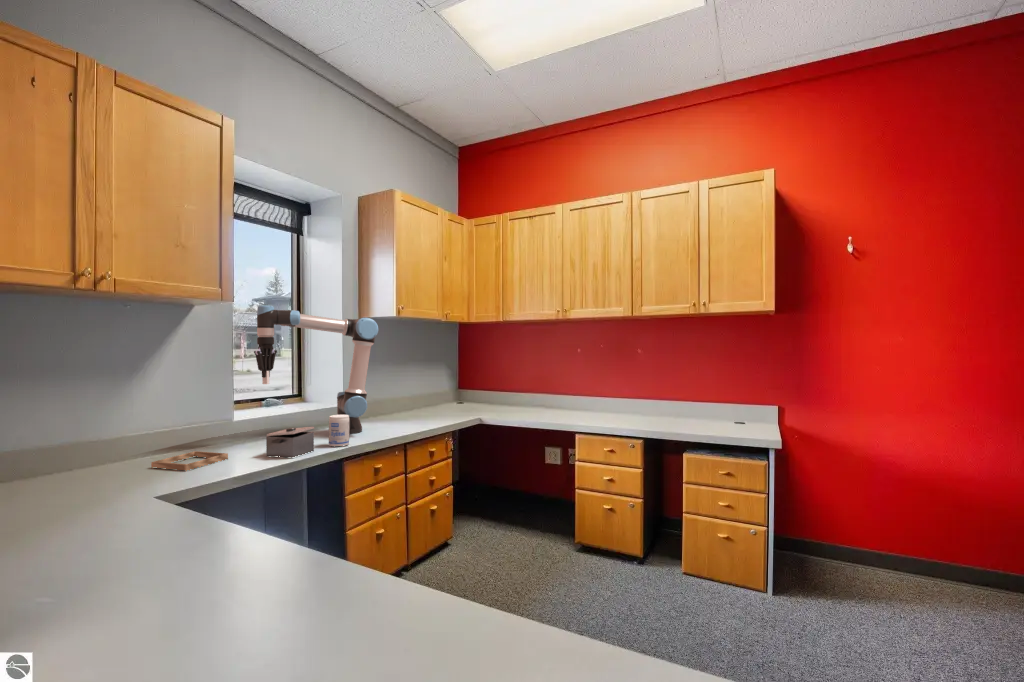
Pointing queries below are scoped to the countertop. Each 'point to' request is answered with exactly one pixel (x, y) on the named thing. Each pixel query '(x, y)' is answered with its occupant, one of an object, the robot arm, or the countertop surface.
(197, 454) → the corral
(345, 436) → the supplement tub
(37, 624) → the countertop surface
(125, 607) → the countertop surface
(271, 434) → the lid
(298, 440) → the dark grey storage box
